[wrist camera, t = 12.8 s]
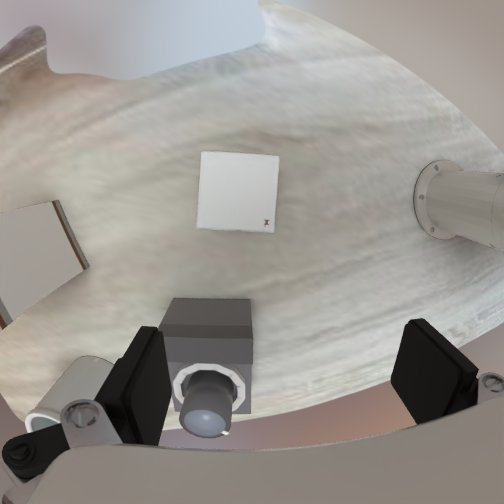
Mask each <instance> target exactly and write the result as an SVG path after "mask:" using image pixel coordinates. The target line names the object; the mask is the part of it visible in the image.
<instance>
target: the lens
mask: <svg viewBox="0 0 504 504" xmlns="http://www.w3.org/2000/svg"><path fill="white" fill-rule="evenodd" d="M233 390H234V386H233V382H232V381H231V379H230V378H229V377H228V376H227V375H225V374H222V373H220V372H218V371H216V370H199V371H197V372H195V373H194V374H193V375H192V376H191V377H190V380H189V383H188V387H187V390H186V394H185V398H184V401H183V405H182V409H181V412H180V416H179V421H180V424H181V426H182V427H183V428H184V429H185V430H186V431H188V432H189V433H191V434H193V435H195V436H198V437H202V438H217V437H220V436H223V435H228V434H229V432H228V431H229V430H230V427H231V416H232V403H233Z"/></svg>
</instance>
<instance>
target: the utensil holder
mask: <svg viewBox="0 0 504 504" xmlns="http://www.w3.org/2000/svg"><path fill="white" fill-rule="evenodd" d="M113 366H114V365H113V364H111V363H109V362H108V361H106V360H103V359H100V358H97V357H93V356H84V357H80V358H78V359H77V360H75V361H74V362H73V363H72V365H71V366H70V367H69V368H68V369H67V370H66V371H65V372H64V373H63V375H62V376H61V377H60V378H59V379H58V380H57V382H56V383H55V384H54V385H53V386H52V388H51V389H50V390H49V391H48V393H47V394H46V395H45V396H44V397H43V399H42V400H41V401H40V402H39V403H38V405H37V406H36V407H35V409H33V410H31V411H30V412H29V413H28V415H27V417H26V420H25V425H26V429H27V431H28V433H30V432H34V431H37V430H40V429H43V428H46V427H49V426H52V425H55V424H58V423H61V421H60V413H61V410H62V409H63V408H64V407H65V406H66V405H67V404H68V403H70V402H72V401H75V400H79V399H90V400H94V399H95V397H96V395H97V393H98V392H99V390H100V388H101V386H102V385H103V383H104V381H105V380H106V378H107V376H108V375H109V373H110V371H111V370H112V368H113Z"/></svg>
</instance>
